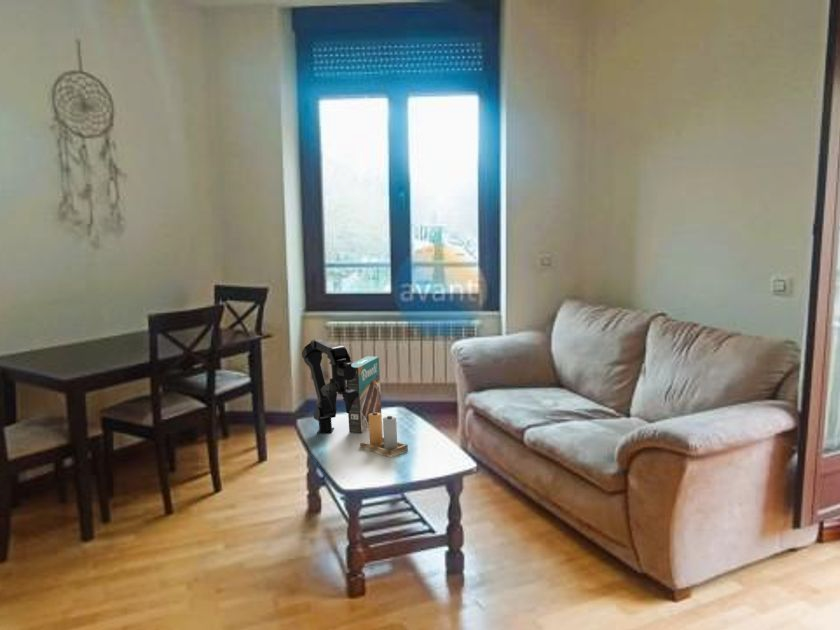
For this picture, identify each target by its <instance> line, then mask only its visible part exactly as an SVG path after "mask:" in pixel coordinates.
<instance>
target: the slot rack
mask: <svg viewBox="0 0 840 630" xmlns="http://www.w3.org/2000/svg"><path fill="white" fill-rule="evenodd" d="M408 447H409V446H408V444H407V443H403V442H399V441H397V448H395V449H392V450H386V449H384V437H383V443H382V444H379V445H377V446H373V445H370V441H369V442H364V441H359V449H363V450H366V451H368V452H372V453H374V454H378V455H381V456H384V457H388V458H390V459H391V458H393V457H395V456H398V455H401V454H403V453H405V452H408V450H409V448H408Z"/></svg>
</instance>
